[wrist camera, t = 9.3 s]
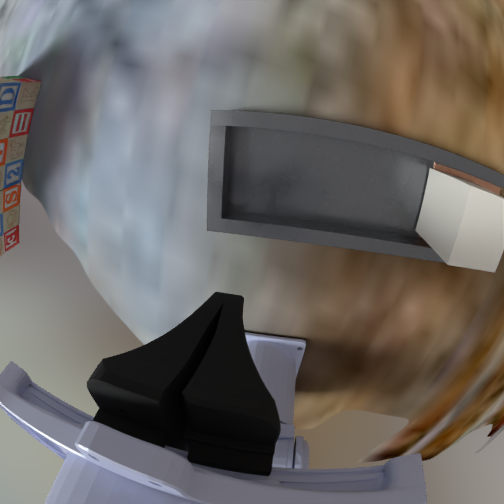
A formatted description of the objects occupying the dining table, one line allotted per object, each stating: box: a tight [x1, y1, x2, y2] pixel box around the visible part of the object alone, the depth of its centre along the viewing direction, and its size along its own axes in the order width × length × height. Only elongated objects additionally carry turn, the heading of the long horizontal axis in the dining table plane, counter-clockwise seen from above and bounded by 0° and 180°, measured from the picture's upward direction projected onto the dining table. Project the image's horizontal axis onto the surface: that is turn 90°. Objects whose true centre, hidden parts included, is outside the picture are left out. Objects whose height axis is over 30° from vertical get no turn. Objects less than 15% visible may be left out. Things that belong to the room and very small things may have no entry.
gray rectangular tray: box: [207, 110, 504, 263], centre depth 17 cm, size 8×24×2 cm, turn 86°
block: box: [415, 168, 504, 272], centre depth 14 cm, size 5×5×6 cm
